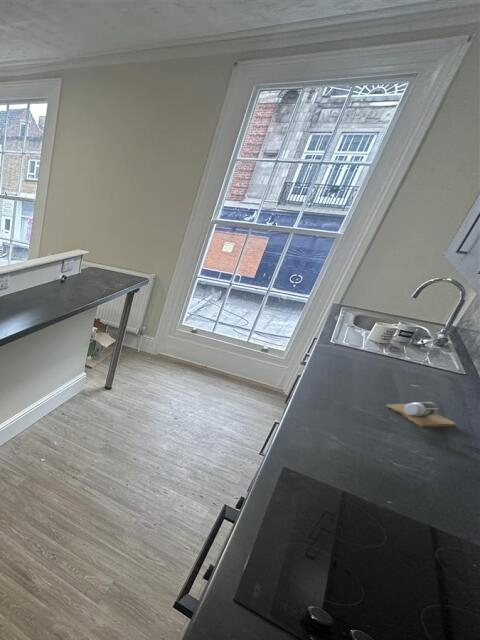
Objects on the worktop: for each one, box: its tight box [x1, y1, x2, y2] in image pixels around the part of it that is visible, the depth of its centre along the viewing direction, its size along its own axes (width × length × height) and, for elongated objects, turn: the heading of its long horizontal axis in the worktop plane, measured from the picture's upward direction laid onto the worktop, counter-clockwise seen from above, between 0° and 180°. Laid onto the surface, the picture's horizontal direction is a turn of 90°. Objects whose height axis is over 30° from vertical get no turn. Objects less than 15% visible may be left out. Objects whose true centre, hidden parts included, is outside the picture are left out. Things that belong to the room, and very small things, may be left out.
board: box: [386, 403, 457, 428], centre depth 141 cm, size 12×14×1 cm
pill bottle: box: [404, 401, 439, 416], centre depth 139 cm, size 5×5×8 cm
